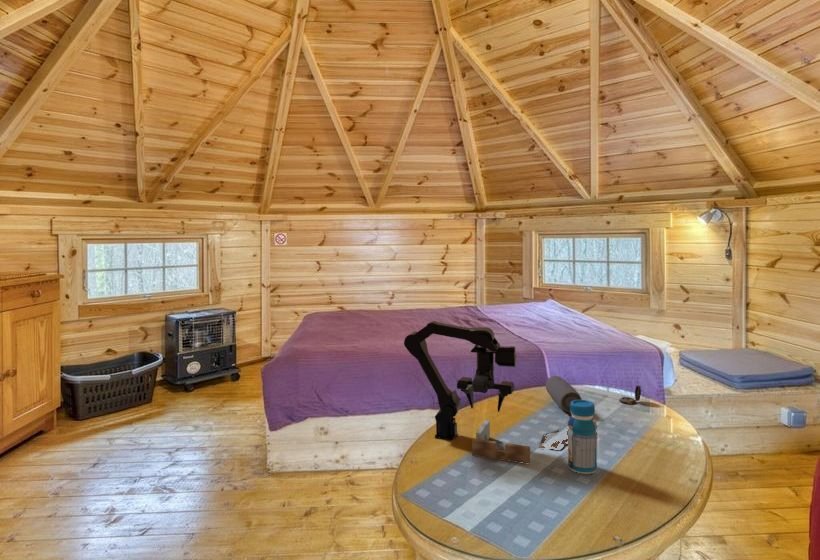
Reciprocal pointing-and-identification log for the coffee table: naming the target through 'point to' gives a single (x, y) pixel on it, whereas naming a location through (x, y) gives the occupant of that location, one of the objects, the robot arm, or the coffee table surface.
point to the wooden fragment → (553, 443)
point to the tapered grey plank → (484, 431)
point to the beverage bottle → (582, 437)
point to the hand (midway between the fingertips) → (485, 409)
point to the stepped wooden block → (500, 451)
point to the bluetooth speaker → (561, 392)
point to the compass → (630, 400)
